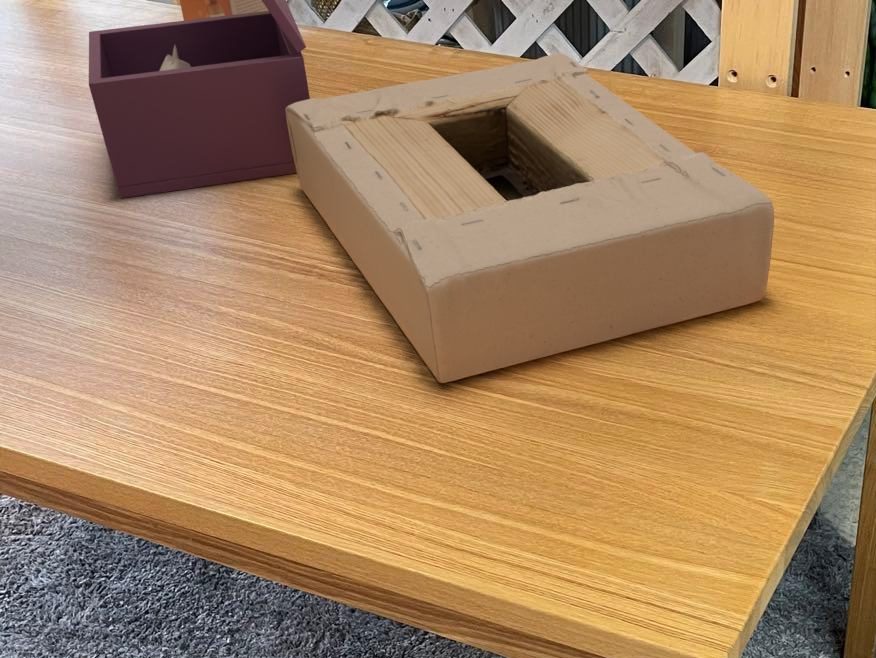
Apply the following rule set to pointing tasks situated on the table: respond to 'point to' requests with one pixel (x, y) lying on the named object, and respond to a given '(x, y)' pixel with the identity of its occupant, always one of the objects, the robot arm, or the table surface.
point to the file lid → (286, 22)
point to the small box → (219, 8)
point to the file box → (196, 101)
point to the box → (526, 213)
